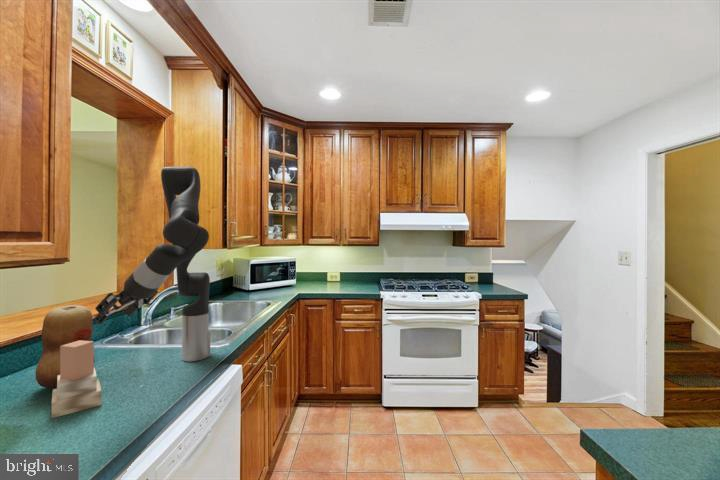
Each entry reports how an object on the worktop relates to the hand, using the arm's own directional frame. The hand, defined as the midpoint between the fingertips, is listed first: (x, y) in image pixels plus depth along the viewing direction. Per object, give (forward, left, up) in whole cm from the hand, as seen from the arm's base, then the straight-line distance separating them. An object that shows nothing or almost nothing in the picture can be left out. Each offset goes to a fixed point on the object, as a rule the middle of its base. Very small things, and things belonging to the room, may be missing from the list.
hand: (113, 317), depth 88 cm
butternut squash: (+9, -25, -25) cm, 37 cm away
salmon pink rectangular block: (+7, -8, -17) cm, 20 cm away
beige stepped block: (+7, -8, -25) cm, 27 cm away
